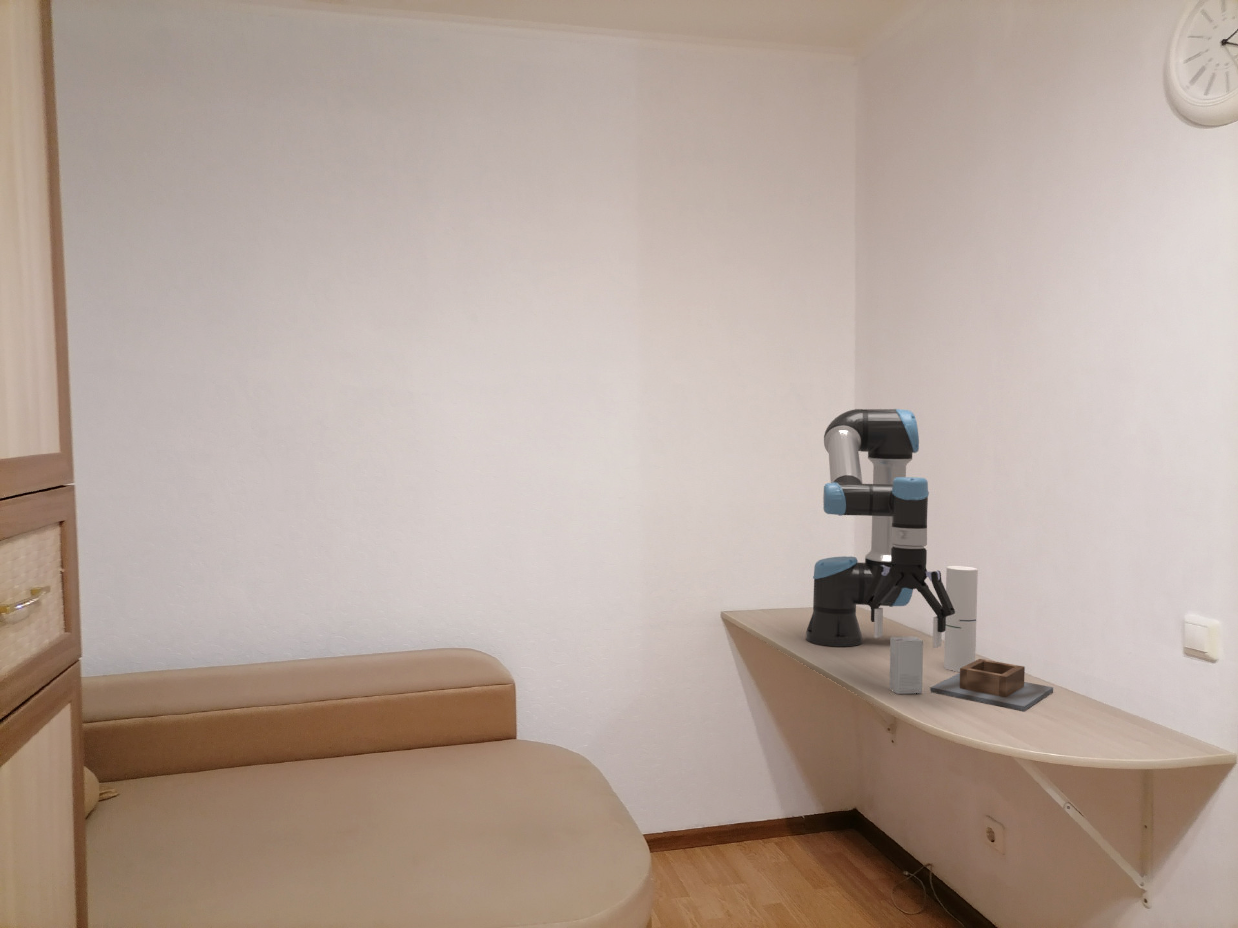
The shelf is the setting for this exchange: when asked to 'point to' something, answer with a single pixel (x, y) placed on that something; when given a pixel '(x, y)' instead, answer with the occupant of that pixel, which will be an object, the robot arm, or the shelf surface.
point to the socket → (993, 685)
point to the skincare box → (906, 665)
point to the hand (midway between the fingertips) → (906, 641)
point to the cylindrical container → (961, 617)
